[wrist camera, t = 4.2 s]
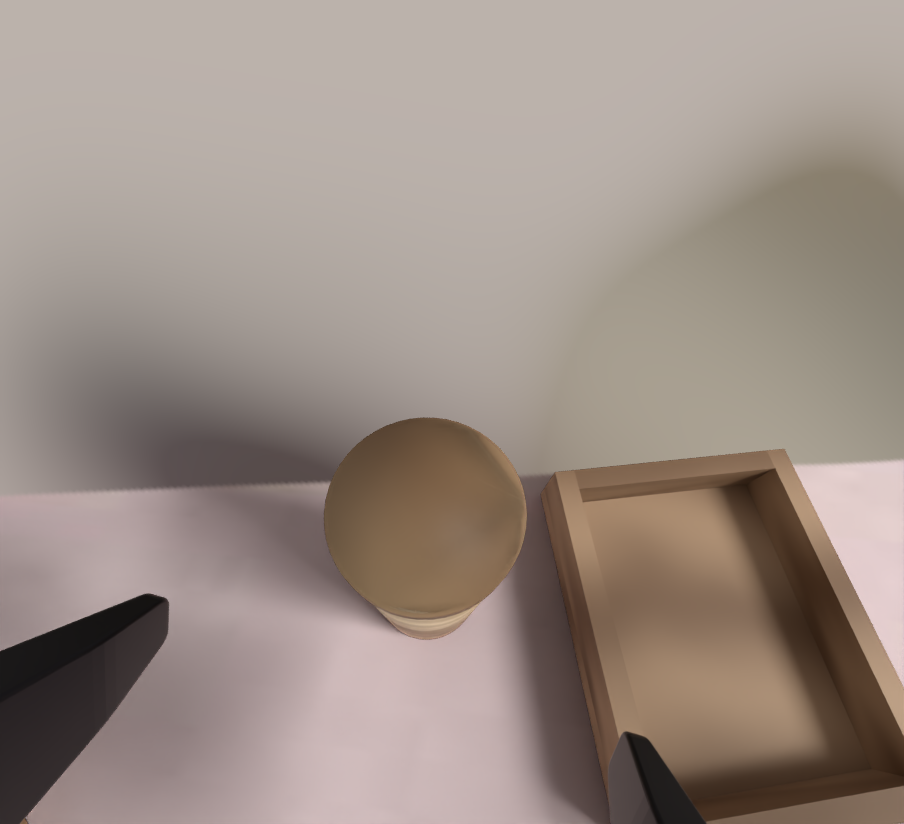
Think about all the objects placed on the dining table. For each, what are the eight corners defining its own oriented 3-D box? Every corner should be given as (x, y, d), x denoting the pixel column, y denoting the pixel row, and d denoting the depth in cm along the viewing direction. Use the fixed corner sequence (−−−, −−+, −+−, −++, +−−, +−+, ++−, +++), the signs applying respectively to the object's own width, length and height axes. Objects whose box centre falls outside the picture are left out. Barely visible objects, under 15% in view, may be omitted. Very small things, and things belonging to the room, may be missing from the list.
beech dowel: (431, 665, 18) (433, 669, 8) (356, 590, 19) (280, 514, 9) (497, 580, 19) (566, 499, 10) (424, 516, 20) (421, 384, 11)
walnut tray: (885, 788, 16) (965, 810, 14) (615, 837, 16) (650, 870, 13) (744, 472, 22) (784, 448, 20) (540, 494, 21) (555, 472, 19)
